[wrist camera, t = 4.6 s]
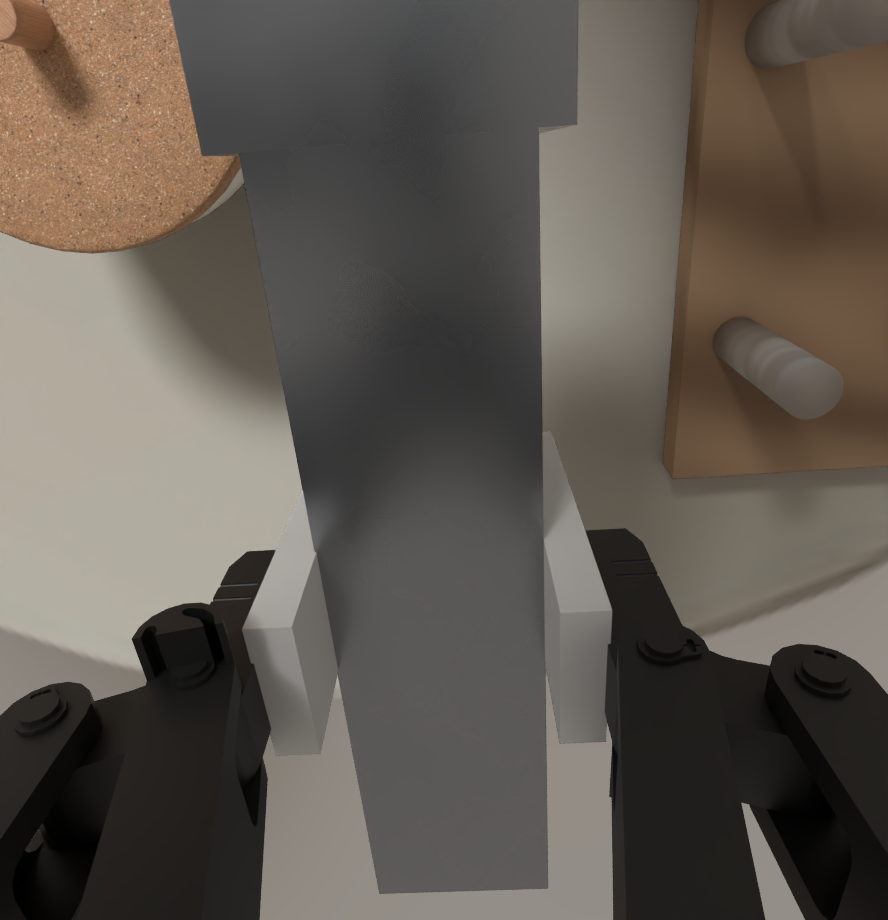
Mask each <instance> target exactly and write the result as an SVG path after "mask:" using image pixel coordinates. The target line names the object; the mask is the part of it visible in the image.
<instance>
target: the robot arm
mask: <svg viewBox="0 0 888 920" xmlns="http://www.w3.org/2000/svg"><path fill="white" fill-rule="evenodd" d="M542 439H543V520H544V618H545V664H546V670H547V675H548V681H549V686H550V692H551V698H552V703H553V709H554V715H555V720H556V725H557V731H558V737H559V742H560V744H561V743H584V742H606V727H607V723H608V727H609V730H610V734H611V738H612V760H611V761H612V762H611V778H610V795H609V796H610V797H612V852H613V920H765V916H764V912H763V907H762V902H761V897H760V892H759V887H758V882H757V877H756V872H755V868H754V863H753V858H752V853H751V849H750V843H749V839H748V834H747V829H746V824H745V819H744V814H743V809H742V805H741V802H742V803H746V804H749V805H750V808H751V810H752V812H753V814H754V816H755V818H756V820H757V822H758V824H759V826H760V828H761V830H762V832H763V834H764V836H765V838H766V841H767V843H768V845H769V847H770V848H771V851H772V853H773V855H774V857H775V859H776V861H777V863H778V865H779V867H780V869H781V871H782V873H783V875H784V877H785V879H786V881H787V884H788V886H789V888H790V890H791V892H792V894H793V896H794V898H795V900H796V902H797V904H798V906H799V908H800V910H801V912H802V914H803V916H804V918H805V920H888V694H887V693H886V692H885V691H884V689H883V688H882V687H881V686H880V685H879V684H878V682H877V681H876V680H875V679H874V678H873V676H872V675H871V674H870V673H869V672H868V671H867V670H866V669H864V668H863V667H862V666H861V665H860V664H859V663H858V662H856V661H855V660H853V659H851V658H850V657H847V656H846V655H844V654H842V653H840V652H838V651H836V650H832V649H829V648H825V647H821V646H818V645H804V644H796V645H792V646H788V647H784V648H782V649H780V650H779V651H778V652H777V653H775V654H774V655H773V656H772V661H771V664H770V666H768V665H763V664H757V663H752V662H746V661H741V660H736V659H732V658H728V657H724V656H721V655H718V654H716V653H714V652H712V651H709V649H708V647H707V646H706V643H705V641H704V640H703V639H702V638H700V637H699V636H698V635H697V634H696V633H695V632H694V631H692V630H690V629H688V628H686V627H684V626H682V624H681V622H680V620H679V618H678V616H677V613H676V611H675V609H674V607H673V605H672V603H671V601H670V599H669V597H668V594H667V592H666V590H665V588H664V586H663V584H662V582H661V580H660V578H659V576H657V571H656V569H655V567H654V565H653V563H652V562H651V559H650V557H649V554H648V552H647V550H646V548H645V546H644V544H643V542H642V541H641V540H639V539H638V538H637V537H636V536H634V535H633V534H632V533H631V532H629V531H628V530H627V529H625V528H624V529H606V530H588V531H585V529H584V526H583V523H582V520H581V517H580V514H579V511H578V508H577V505H576V502H575V499H574V496H573V493H572V490H571V488H570V485H569V482H568V479H567V476H566V473H565V470H564V467H563V464H562V461H561V458H560V455H559V452H558V449H557V446H556V443H555V441H554V438H553V435H552V432H551V431H546V432H542ZM132 641H133V644H134V646H135V649H136V652H137V655H138V657H139V660H140V663H141V666H142V668H143V671H144V674H145V676H146V679H147V683H146V686H143V687H140V688H138V689H135V690H132V691H129V692H125V693H122V694H118V695H115V696H111V697H108V698H104V699H101V700H97V701H94V700H93V697H92V695H91V693H90V691H89V690H88V689H87V688H86V687H84V686H83V685H82V684H78V683H72V682H64V683H57V684H51V685H48V686H46V687H43V688H40V689H38V690H35V691H33V692H31V693H29V694H28V695H26V696H24V697H23V698H21V699H19V700H18V701H16V702H15V703H13V704H12V705H11V706H10V707H9V708H8V709H7V710H6V711H5V712H4V713H3V714H2V715H1V716H0V920H259V918H260V900H261V884H262V883H261V882H262V866H263V849H264V832H265V815H266V797H267V781H268V779H267V773H266V769H265V764H264V761H263V754H264V751H265V748H266V744H267V741H268V737H269V735H270V736H271V740H272V743H273V747H274V751H275V754H276V756H285V755H308V754H320V753H321V748H322V744H323V739H324V735H325V730H326V725H327V720H328V716H329V711H330V706H331V702H332V697H333V692H334V688H335V683H336V678H337V674H338V666H337V661H336V655H335V650H334V645H333V639H332V634H331V629H330V623H329V618H328V612H327V607H326V602H325V596H324V591H323V586H322V580H321V575H320V569H319V564H318V559H317V553H316V552H314V547H313V542H312V536H311V531H310V526H309V521H308V515H307V510H306V505H305V500H304V494H303V489H302V491H301V493H300V495H299V498H298V500H297V502H296V505H295V507H294V509H293V512H292V514H291V516H290V519H289V521H288V523H287V526H286V528H285V530H284V533H283V535H282V537H281V540H280V542H279V544H278V547H277V549H276V550H266V551H249V552H246V553H245V554H244V555H243V556H242V557H240V558H239V559H238V560H237V561H236V562H235V563H233V564H232V565H231V566H230V567H229V569H228V571H227V573H226V575H225V576H224V578H223V580H222V582H221V587H220V588H218V590H217V592H216V594H215V596H214V598H213V602H211V603H210V605H208V604H204V603H188V604H182V605H179V606H175V607H172V608H168V609H166V610H164V611H162V612H160V613H158V614H156V615H154V616H152V617H151V618H150V619H149V620H147V621H146V622H145V623H144V624H143V625H141V626H140V627H139V629H138V630H137V632H136V633H135V635H134V636H133V638H132ZM37 830H38V831H37ZM35 833H36V834H35Z"/></svg>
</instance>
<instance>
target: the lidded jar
mask: <svg viewBox="0 0 888 920" xmlns="http://www.w3.org/2000/svg"><path fill="white" fill-rule="evenodd" d="M243 183H244V178H243V173H242V168H241V163H240V157H239V156H202V154H201V149H200V144H199V139H198V135H197V130H196V125H195V121H194V116H193V111H192V106H191V102H190V97H189V92H188V87H187V83H186V78H185V73H184V69H183V64H182V59H181V54H180V50H179V45H178V40H177V36H176V31H175V26H174V21H173V17H172V12H171V7H170V3H169V0H0V232H2V233H5V234H7V235H10V236H12V237H15V238H17V239H20V240H23V241H25V242H28V243H30V244H34V245H38V246H42V247H47V248H51V249H55V250H59V251H67V252H80V253H104V252H115V251H123V250H127V249H131V248H134V247H138V246H142V245H145V244H149V243H153V242H156V241H158V240H160V239H162V238H164V237H166V236H169V235H171V234H173V233H175V232H177V231H179V230H181V229H183V228H185V227H186V226H187V225H189V224H190V223H192V222H194V221H197V220H199V219H201V218H203V217H205V216H206V215H208V214H209V213H210V212H212V211H213V210H214V209H216V208H217V207H219V206H220V205H221V204H223V203H224V202H225V201H226V200H228V199H229V198H230V197H231V196H232V195H233V194H234V193H235V192H236V191H237V190H238V189H239V188H240V187H241V186H242V184H243Z"/></svg>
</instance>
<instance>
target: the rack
mask: <svg viewBox="0 0 888 920" xmlns="http://www.w3.org/2000/svg"><path fill="white" fill-rule="evenodd" d="M663 465H664V467H665V468H666V470H667V471H668V473H669V474H670V476H671V477H672V479H681V478H697V477H713V476H729V475H746V474H762V473H778V472H794V471H810V470H827V469H843V468H859V467H875V466H888V0H699V1H698V14H697V27H696V40H695V53H694V65H693V78H692V91H691V104H690V117H689V130H688V143H687V155H686V168H685V181H684V194H683V207H682V220H681V233H680V245H679V258H678V271H677V284H676V297H675V310H674V322H673V335H672V348H671V361H670V374H669V387H668V400H667V412H666V425H665V438H664V451H663Z"/></svg>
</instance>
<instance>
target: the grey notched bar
mask: <svg viewBox="0 0 888 920" xmlns="http://www.w3.org/2000/svg"><path fill="white" fill-rule="evenodd" d="M169 3H170V7H171V12H172V17H173V21H174V26H175V31H176V36H177V40H178V45H179V50H180V54H181V59H182V64H183V69H184V73H185V78H186V83H187V87H188V92H189V97H190V102H191V106H192V111H193V116H194V121H195V125H196V130H197V135H198V139H199V144H200V149H201V154H202V156H239V157H240V163H241V168H242V173H243V178H244V184H245V189H246V194H247V200H248V205H249V210H250V215H251V221H252V226H253V231H254V236H255V242H256V247H257V252H258V257H259V263H260V268H261V273H262V278H263V284H264V289H265V294H266V300H267V305H268V310H269V315H270V321H271V326H272V331H273V336H274V342H275V347H276V352H277V357H278V363H279V368H280V373H281V378H282V384H283V389H284V394H285V400H286V405H287V410H288V415H289V421H290V426H291V431H292V436H293V442H294V447H295V452H296V457H297V463H298V468H299V473H300V478H301V484H302V489H303V494H304V500H305V505H306V510H307V515H308V521H309V526H310V531H311V536H312V542H313V547H314V552H316V553H317V559H318V564H319V569H320V575H321V580H322V586H323V591H324V596H325V602H326V607H327V612H328V618H329V623H330V629H331V634H332V639H333V645H334V650H335V655H336V661H337V666H338V678H339V684H340V689H341V694H342V700H343V705H344V710H345V715H346V720H347V725H348V731H349V736H350V741H351V747H352V752H353V757H354V763H355V768H356V773H357V778H358V784H359V789H360V794H361V799H362V804H363V810H364V815H365V820H366V825H367V831H368V836H369V842H370V847H371V852H372V857H373V862H374V868H375V873H376V878H377V884H378V889H379V893H380V894H386V893H387V894H388V893H417V892H451V891H483V890H514V889H543V888H545V889H546V888H548V846H547V845H548V844H547V843H548V841H547V762H546V682H545V618H544V520H543V439H542V359H541V279H540V199H539V133H542V132H547V131H551V130H555V129H560V128H564V127H568V126H572V125H577V76H578V0H169Z"/></svg>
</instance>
